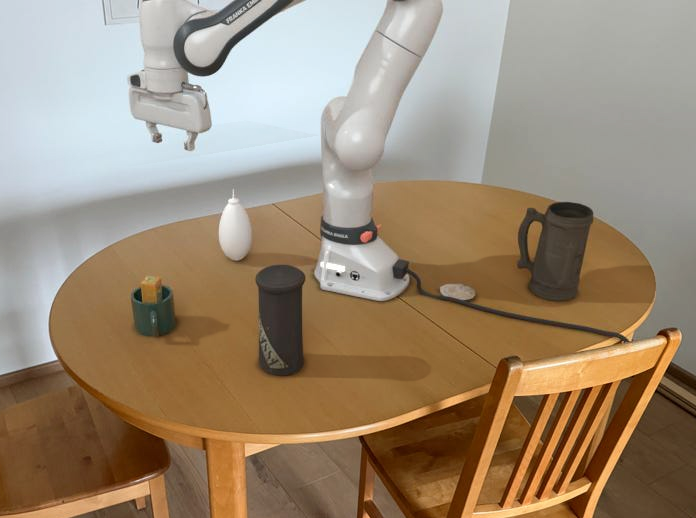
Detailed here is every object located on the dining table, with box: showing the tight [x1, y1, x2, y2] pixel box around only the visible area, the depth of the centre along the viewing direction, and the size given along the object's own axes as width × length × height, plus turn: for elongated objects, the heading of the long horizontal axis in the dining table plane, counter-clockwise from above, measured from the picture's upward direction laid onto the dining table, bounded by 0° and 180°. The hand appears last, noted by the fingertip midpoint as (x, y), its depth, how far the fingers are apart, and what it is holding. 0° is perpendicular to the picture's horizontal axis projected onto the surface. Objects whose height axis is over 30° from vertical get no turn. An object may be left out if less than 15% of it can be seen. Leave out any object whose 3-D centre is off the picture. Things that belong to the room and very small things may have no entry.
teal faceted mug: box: [130, 284, 177, 339], centre depth 146 cm, size 12×8×8 cm
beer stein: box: [516, 201, 594, 302], centre depth 159 cm, size 15×11×20 cm
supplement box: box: [140, 275, 163, 303], centre depth 146 cm, size 3×3×10 cm
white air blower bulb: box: [218, 188, 253, 262], centre depth 170 cm, size 8×8×18 cm
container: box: [254, 264, 306, 377], centre depth 132 cm, size 9×9×20 cm
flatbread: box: [439, 283, 476, 301], centre depth 161 cm, size 8×8×1 cm
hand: (173, 146), depth 155 cm, fingers open, 8 cm apart
